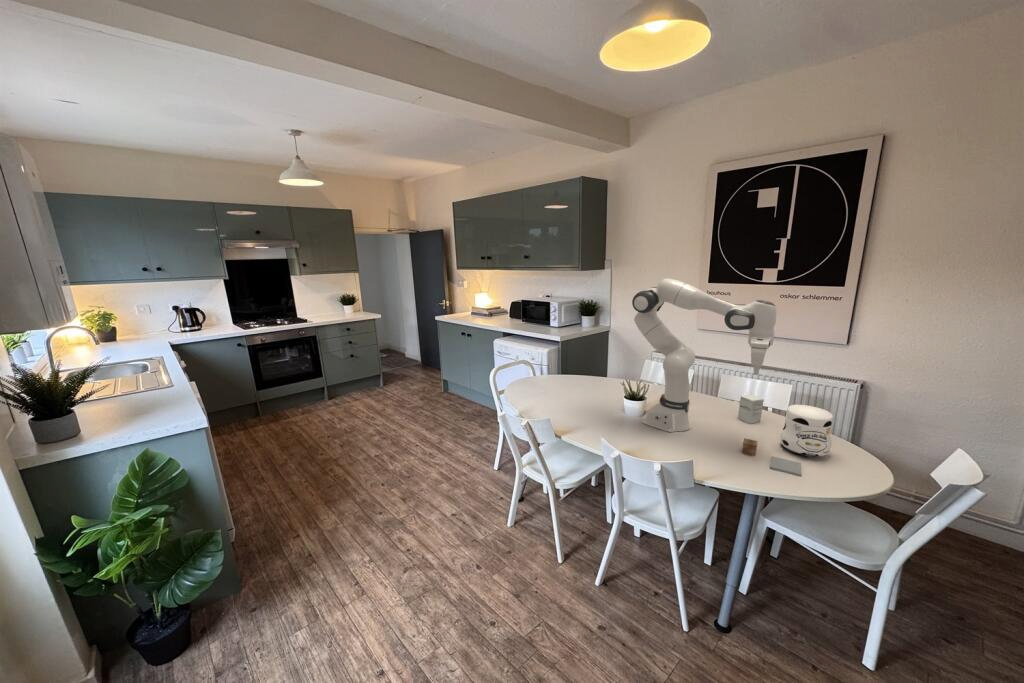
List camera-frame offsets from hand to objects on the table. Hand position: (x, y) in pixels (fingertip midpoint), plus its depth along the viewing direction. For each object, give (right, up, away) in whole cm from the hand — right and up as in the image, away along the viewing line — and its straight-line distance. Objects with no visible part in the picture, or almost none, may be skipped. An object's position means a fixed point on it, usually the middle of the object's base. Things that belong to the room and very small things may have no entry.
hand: (756, 371), depth 162 cm
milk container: (+22, -35, +4) cm, 41 cm away
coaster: (+6, -37, -9) cm, 39 cm away
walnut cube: (-2, -35, +3) cm, 35 cm away
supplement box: (+17, -28, +33) cm, 47 cm away
